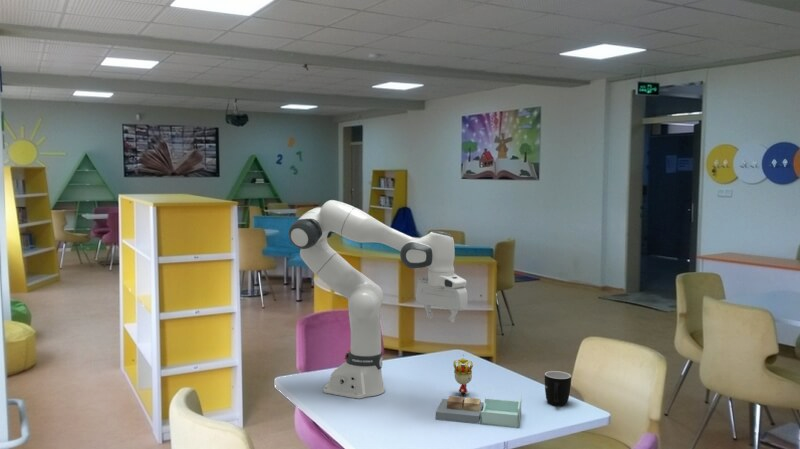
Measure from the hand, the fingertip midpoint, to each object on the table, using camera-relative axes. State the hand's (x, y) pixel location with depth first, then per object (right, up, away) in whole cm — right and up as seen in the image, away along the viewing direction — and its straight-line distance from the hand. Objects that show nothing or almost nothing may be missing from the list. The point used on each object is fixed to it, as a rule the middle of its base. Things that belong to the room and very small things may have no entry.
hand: (440, 319), depth 219 cm
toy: (+9, -29, +15) cm, 34 cm away
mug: (+41, -31, +6) cm, 51 cm away
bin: (+19, -31, -8) cm, 37 cm away
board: (+6, -31, -5) cm, 32 cm away
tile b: (+5, -28, -5) cm, 29 cm away
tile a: (+10, -28, -6) cm, 31 cm away
